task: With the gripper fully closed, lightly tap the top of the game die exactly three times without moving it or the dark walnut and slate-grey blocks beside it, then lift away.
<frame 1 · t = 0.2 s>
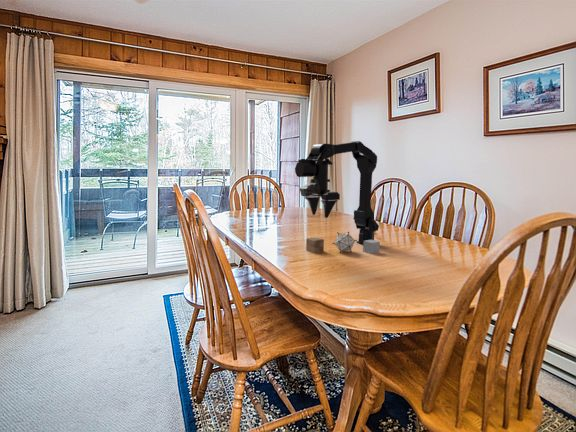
hand: (319, 216, 140), 14 cm above the table, fingers open, 9 cm apart
game die: (344, 252, 142), on the table
walnut block: (314, 251, 143), on the table
slate block: (371, 252, 142), on the table
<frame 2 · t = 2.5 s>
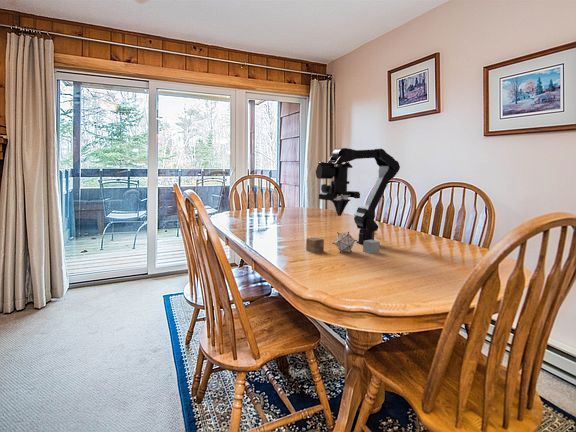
hand: (339, 215, 150), 13 cm above the table, fingers closed
nothing on the table moved.
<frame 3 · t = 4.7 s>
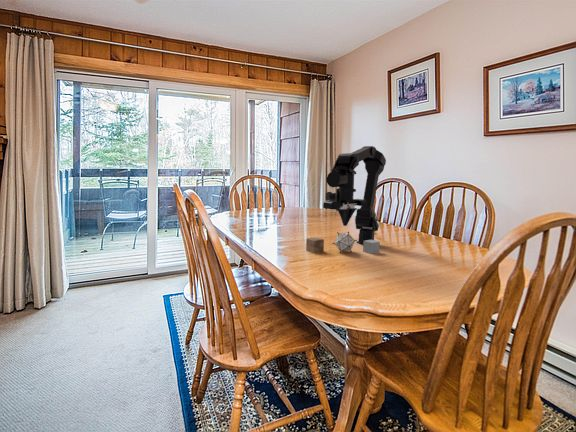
hand: (345, 225, 140), 11 cm above the table, fingers closed
nothing on the table moved.
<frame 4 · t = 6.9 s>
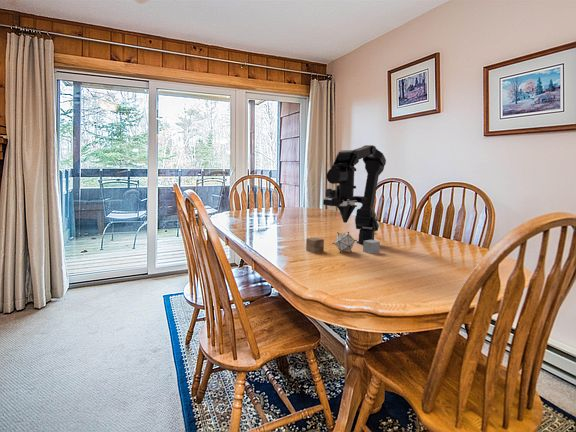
hand: (345, 222, 140), 12 cm above the table, fingers closed
nothing on the table moved.
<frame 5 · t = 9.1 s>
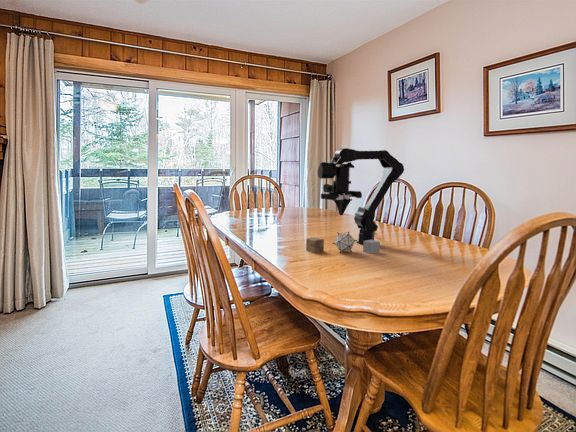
hand: (341, 215, 152), 13 cm above the table, fingers closed
nothing on the table moved.
at the end: game die moved 0.2 cm from its start; game die tilted 0°; walnut block moved 0.1 cm from its start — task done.
